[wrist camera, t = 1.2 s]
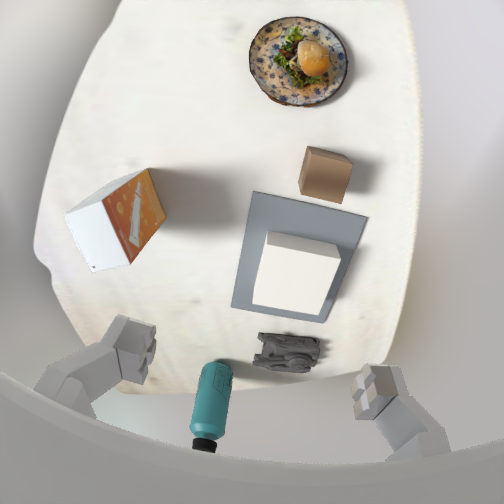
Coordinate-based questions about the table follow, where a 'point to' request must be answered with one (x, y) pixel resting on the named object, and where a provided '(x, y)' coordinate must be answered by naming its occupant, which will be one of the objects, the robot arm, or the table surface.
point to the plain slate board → (297, 224)
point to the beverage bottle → (211, 406)
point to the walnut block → (324, 175)
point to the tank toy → (287, 353)
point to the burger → (298, 61)
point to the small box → (116, 221)
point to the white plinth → (295, 273)
